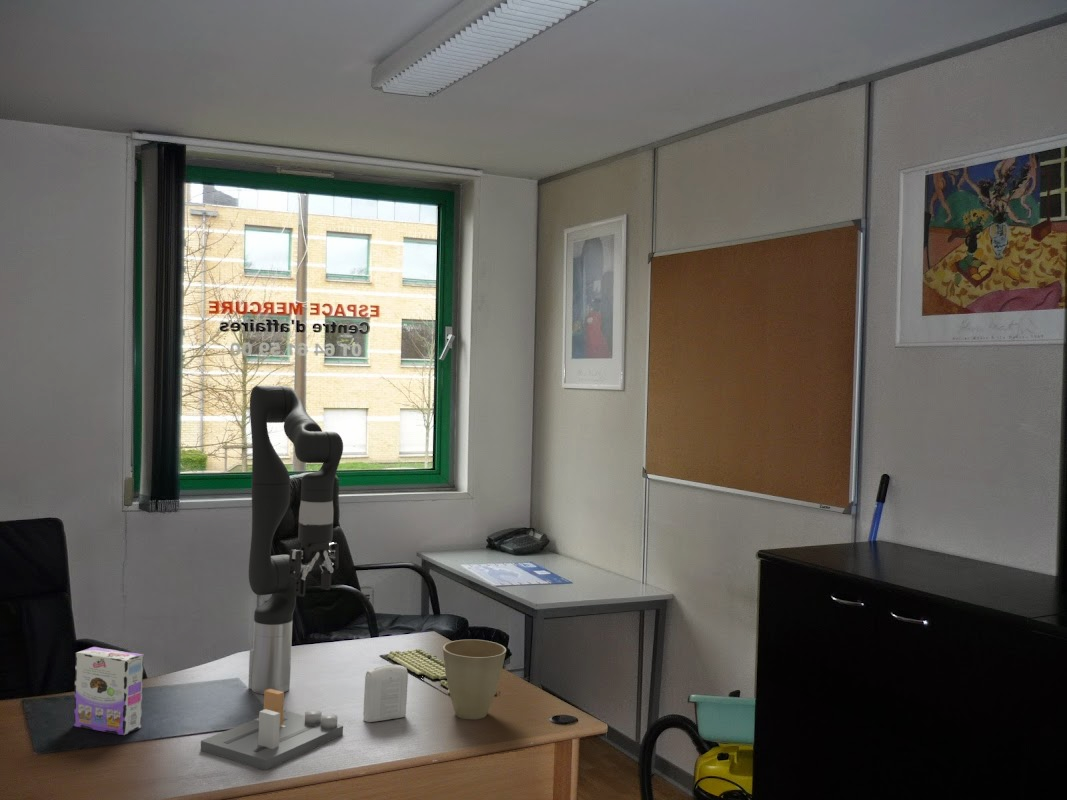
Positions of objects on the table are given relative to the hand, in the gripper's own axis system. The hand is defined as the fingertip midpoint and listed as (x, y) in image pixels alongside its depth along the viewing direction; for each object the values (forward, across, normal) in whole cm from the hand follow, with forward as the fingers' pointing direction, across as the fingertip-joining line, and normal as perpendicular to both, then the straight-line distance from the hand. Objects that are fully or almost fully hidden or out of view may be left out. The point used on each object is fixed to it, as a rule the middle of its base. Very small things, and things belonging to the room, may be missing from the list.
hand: (313, 592), depth 229 cm
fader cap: (+28, +8, -3) cm, 29 cm away
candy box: (+30, +26, -34) cm, 52 cm away
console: (+30, +12, +1) cm, 32 cm away
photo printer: (+30, -14, +11) cm, 35 cm away
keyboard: (+31, -50, +3) cm, 59 cm away
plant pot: (+30, -28, +26) cm, 49 cm away
